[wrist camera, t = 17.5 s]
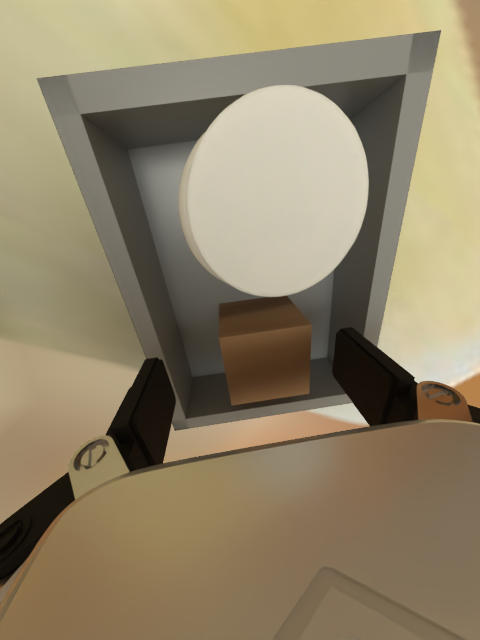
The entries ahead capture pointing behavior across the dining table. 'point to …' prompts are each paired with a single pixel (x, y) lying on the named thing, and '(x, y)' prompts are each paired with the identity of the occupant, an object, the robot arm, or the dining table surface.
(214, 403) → the tote
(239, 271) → the supplement bottle
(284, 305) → the walnut cube
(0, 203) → the dining table surface
